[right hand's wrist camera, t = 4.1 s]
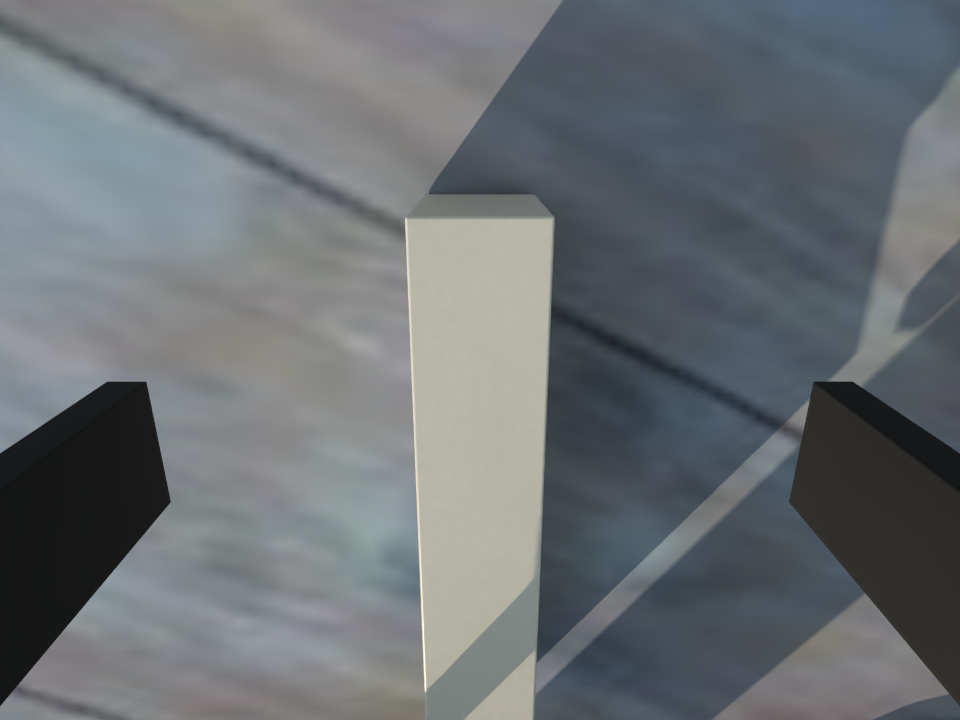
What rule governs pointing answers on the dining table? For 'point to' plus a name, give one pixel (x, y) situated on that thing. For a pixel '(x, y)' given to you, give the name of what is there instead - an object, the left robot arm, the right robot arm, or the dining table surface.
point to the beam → (480, 444)
